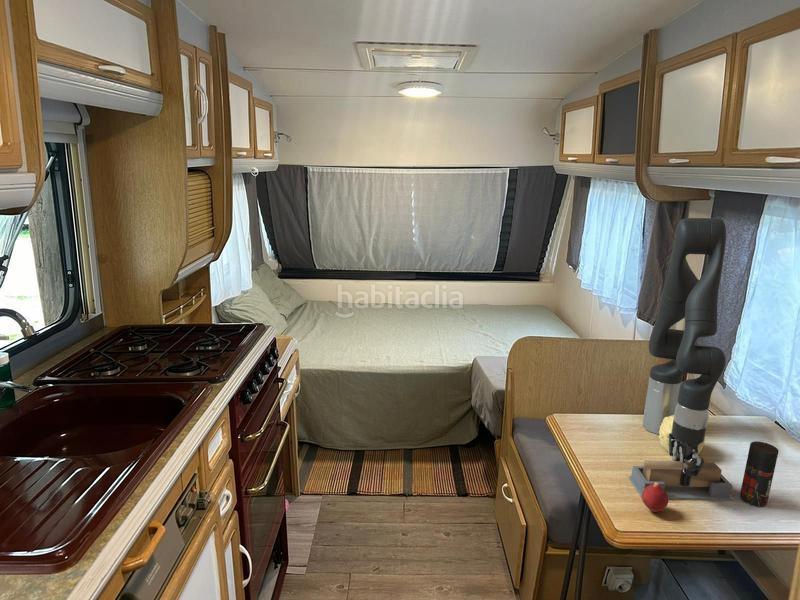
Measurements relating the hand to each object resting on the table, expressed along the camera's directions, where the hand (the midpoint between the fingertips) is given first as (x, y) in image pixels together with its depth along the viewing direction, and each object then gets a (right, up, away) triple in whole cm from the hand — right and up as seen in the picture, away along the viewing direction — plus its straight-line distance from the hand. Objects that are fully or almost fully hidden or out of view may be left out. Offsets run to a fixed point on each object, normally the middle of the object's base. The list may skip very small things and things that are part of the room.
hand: (680, 480), depth 143 cm
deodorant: (+17, -4, -3) cm, 18 cm away
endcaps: (0, -3, +1) cm, 3 cm away
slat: (0, -1, 0) cm, 1 cm away
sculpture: (+9, +2, +19) cm, 21 cm away
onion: (-11, -5, -8) cm, 15 cm away
